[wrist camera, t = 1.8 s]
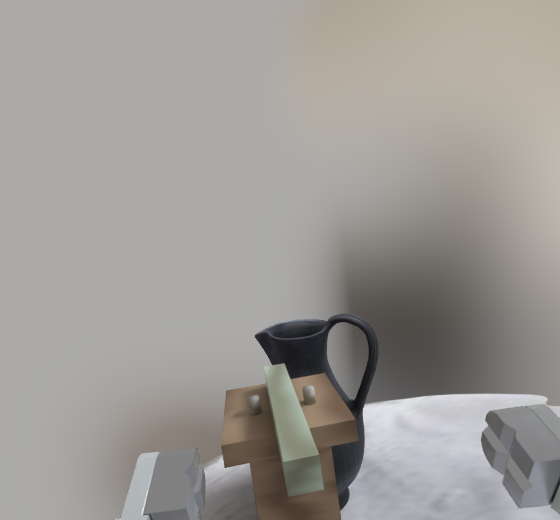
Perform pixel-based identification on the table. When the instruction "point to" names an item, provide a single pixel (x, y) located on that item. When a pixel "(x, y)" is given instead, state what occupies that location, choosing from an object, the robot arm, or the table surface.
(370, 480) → the table surface
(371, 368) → the pitcher
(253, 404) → the shelf stand
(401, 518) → the table surface
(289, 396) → the bar
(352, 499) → the table surface
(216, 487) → the table surface
